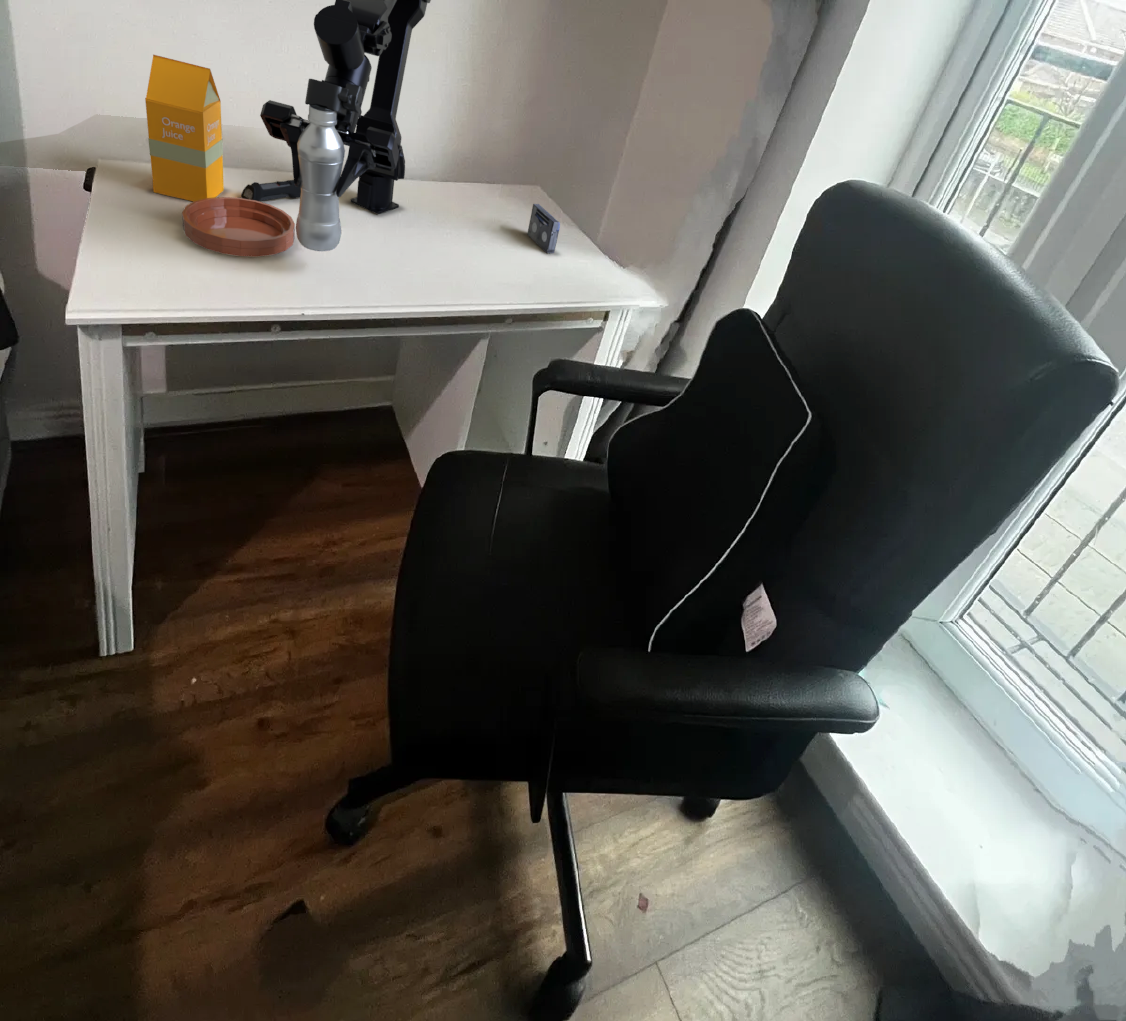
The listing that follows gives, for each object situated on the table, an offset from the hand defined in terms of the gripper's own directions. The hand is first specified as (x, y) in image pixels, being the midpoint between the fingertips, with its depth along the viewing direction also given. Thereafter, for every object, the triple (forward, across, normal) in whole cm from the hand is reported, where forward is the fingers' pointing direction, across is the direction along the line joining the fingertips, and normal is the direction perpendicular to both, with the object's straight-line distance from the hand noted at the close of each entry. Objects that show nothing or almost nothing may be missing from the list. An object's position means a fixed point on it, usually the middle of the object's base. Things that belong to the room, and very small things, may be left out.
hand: (316, 190), depth 117 cm
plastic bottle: (+6, 0, +8) cm, 9 cm away
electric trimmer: (-9, -14, +28) cm, 33 cm away
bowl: (+4, -14, +14) cm, 21 cm away
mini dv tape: (-16, +32, +35) cm, 50 cm away
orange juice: (-4, -28, +23) cm, 36 cm away
